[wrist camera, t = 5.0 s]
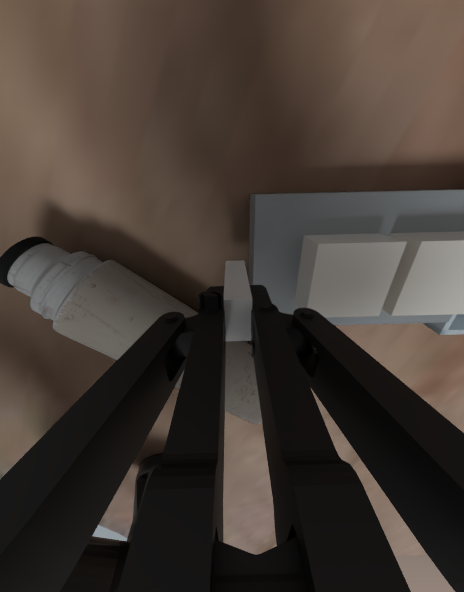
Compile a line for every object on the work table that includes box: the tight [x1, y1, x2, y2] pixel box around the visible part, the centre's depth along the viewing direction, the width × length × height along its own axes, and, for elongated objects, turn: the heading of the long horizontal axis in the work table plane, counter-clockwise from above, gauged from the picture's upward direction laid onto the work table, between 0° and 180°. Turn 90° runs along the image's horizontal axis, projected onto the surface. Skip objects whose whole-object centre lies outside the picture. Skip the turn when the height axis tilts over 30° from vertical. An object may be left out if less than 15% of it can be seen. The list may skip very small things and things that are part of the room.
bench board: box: [249, 189, 464, 325], centre depth 20 cm, size 20×12×4 cm, turn 91°
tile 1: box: [382, 231, 464, 316], centre depth 16 cm, size 6×6×3 cm
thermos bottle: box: [0, 237, 262, 424], centre depth 21 cm, size 8×8×28 cm
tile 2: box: [295, 233, 407, 317], centre depth 16 cm, size 6×6×3 cm
